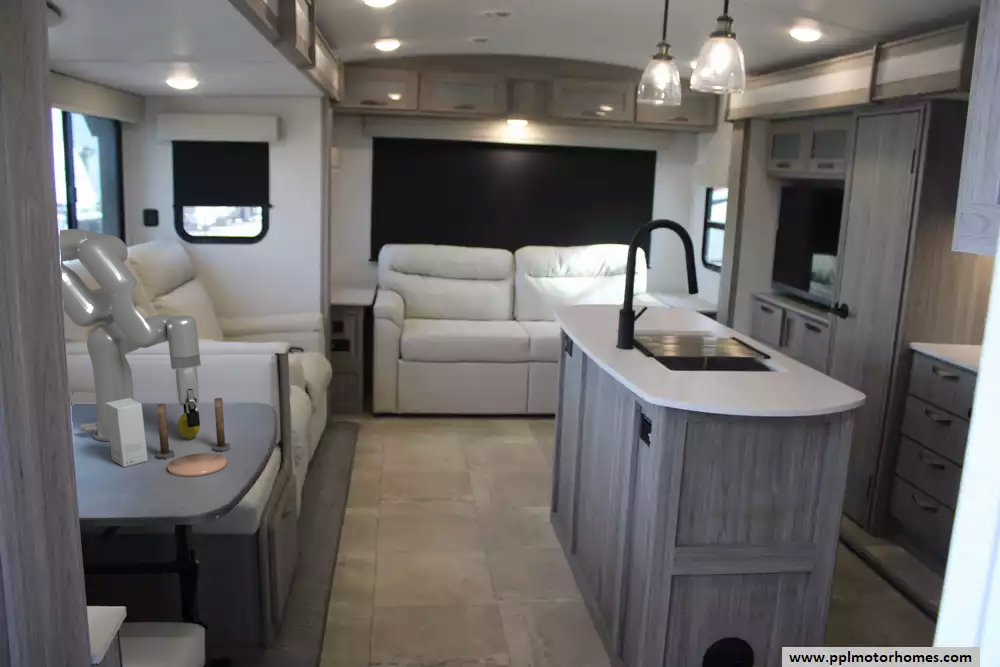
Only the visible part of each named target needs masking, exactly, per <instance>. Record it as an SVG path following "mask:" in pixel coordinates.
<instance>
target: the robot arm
mask: <svg viewBox="0 0 1000 667" xmlns="http://www.w3.org/2000/svg"><path fill="white" fill-rule="evenodd" d="M60 249H61V268H62V284H63V300H64V310H63V311H64V312H65V313H66V315H67V316H68V318H69V319H70V320H71V321H72V322H73V323H74V324H75V325H77V326H79V327H82V328H83V327H84V328H87V327H92V326H96V325H99V324H102V325H99V326H97V327H96V328H94V329H92V331H91V332H90V333H89V335H88V337H87V338H86V339H87V340H86V346H87V347H86V348H87V352H88V354H89V358H90V362H91V365H92V373H93V374H92V375H93V383H94V392H95V393H94V394H95V402H96V413H97V418H96V421H92V422H91V423H80V424H79V425H80V431H85V432H87V433H88V432H89V433H90V432H93V433H92V435H93V437H92V438H94V439H95V440H96V439H97V441H102V442H110V438H109V430H108V422H107V414H106V406H105V403H107V402H112V401H117V400H122V399H126V398H131V399H133V400H135V397H134V396H135V394H134V385H133V384H134V383H133V376H132V375H133V374H132V369H131V366H130V363H129V361H128V359H127V357H126V354H129V353H132V352H134V351H137V350H140V349H142V348H145V349H146V348H151V347H154V346H156V345H158V344H162V343H165V342H167V341H168V348H169V349H168V350H169V358H170V367H171V369H172V370H175V379H176V380H175V381H176V389H177V390H176V391H177V399H178V403H179V405H180V406H183V414H184V413H186V412H187V413H186V418H187V426H188V427H195V426H200V427H201V420H200V412H199V410H198V405H197V404H198V403H199V401H200V399H199V398H200V395H199V392H200V391H199V380H198V371H197V370H198V369H197V368H199V367H200V366H201V365H202V364H201V356H200V354H201V353H200V345H199V337H198V336H199V335H198V326H197V321H196V318H195V317H194V316H192V315H178V316H177V315H171V314H164V313H163V314H155V315H153V316H147V317H145V318H144V316H143V315H142V314H141V313H140V311H138V309H137V308H136V306H135V304H134V302H133V296H132V295H133V290H134V289H135V287H136V286H137V283H138V282H137V281H138V280H137V278H136V277H135V275H134V274H133V273H132V271H130V269H129V268H128V267H127V266H126V264H125V261H126V260H127V259H128V254H129V250H128V248H127V245H126V244H125V243H124V241H123V240H122V239H121V238H119V237H117V236H114V235H111V234H106V233H102V232H95V231H90V230H85V229H81V228H80V229H79V228H68V229H60ZM74 260H79V263H80V264H81V265H82V266H83V267H84V269H85V270H86V271H87V272H88V274H89V275H90V276H91V277H92V278H93V280H94V281H95V282H96V283H97V285H98V286H99V287H100V288H94V289H91V288H89V286H88V285H87V284H86V283H85V282H84V280H83V279H82V278H81V277H80V276H79V275H78V274H77V273H76V272H75V271H74V270H72V268H70V267H68V266H66V265H65V264H64V263H63V262H67V261H74Z"/></svg>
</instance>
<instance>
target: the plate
mask: <svg viewBox="0 0 1000 667" xmlns="http://www.w3.org/2000/svg"><path fill="white" fill-rule="evenodd" d="M227 464H228V463H227V458H226V457H225V456H224V455H222V454H218V453H210V452H209V453H207V452H206V453H205V452H204V453H193V454H187V455H183V456H180V457H177V458H175V459H173V460H171V461H170V462H169V463H168V464H167V472H168V471H169V472H168V473H169V474H170V473H171V474H170V475H172V474H173V476H175V475H176V476H175V477H180V476H184V477H183V478H192V477H191V476H197V477H202V475H204V476H207V475H206V474H209V475H211V473H212V474H215V473H218V472H220V471H222V470H224V469H225V468H226V467H227ZM224 467H225V468H224ZM187 476H188V477H187Z"/></svg>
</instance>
